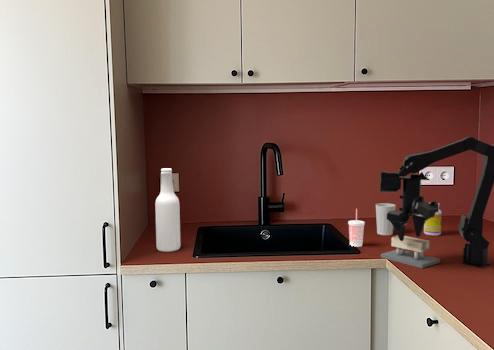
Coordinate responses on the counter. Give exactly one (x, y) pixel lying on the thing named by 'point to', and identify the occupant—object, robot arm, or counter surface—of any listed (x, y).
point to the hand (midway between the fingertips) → (409, 238)
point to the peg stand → (410, 258)
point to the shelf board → (410, 243)
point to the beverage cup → (356, 232)
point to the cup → (384, 218)
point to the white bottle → (167, 215)
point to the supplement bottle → (433, 224)
